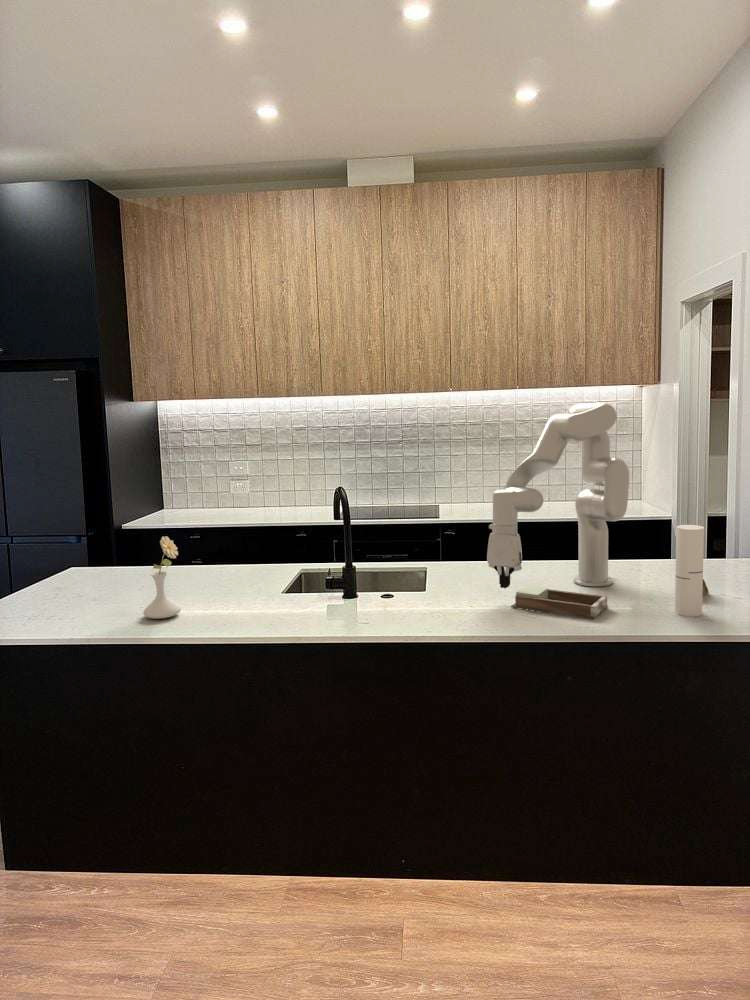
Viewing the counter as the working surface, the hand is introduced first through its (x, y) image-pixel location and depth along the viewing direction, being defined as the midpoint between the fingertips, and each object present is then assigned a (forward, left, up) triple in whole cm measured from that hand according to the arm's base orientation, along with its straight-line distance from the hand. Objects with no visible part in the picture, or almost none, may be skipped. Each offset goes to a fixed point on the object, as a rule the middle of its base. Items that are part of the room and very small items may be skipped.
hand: (504, 586), depth 224 cm
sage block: (-1, +9, -4) cm, 10 cm away
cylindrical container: (-13, +51, -5) cm, 53 cm away
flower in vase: (+61, -88, -5) cm, 107 cm away
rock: (-31, +49, -5) cm, 58 cm away
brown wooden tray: (-1, +17, -4) cm, 18 cm away
